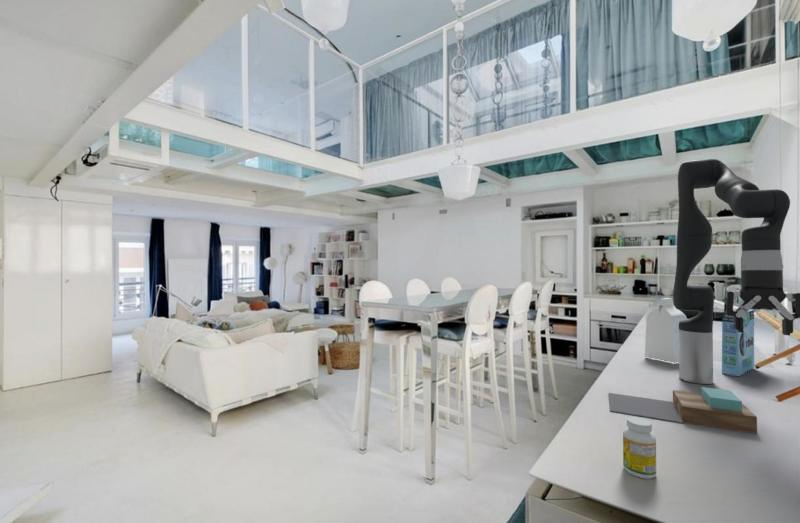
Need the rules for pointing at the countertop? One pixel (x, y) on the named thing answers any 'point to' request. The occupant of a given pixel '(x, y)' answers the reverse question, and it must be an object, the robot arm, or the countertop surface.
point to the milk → (663, 331)
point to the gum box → (737, 345)
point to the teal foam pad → (721, 399)
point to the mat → (644, 407)
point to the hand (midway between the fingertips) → (762, 333)
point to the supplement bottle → (639, 448)
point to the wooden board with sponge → (712, 413)
